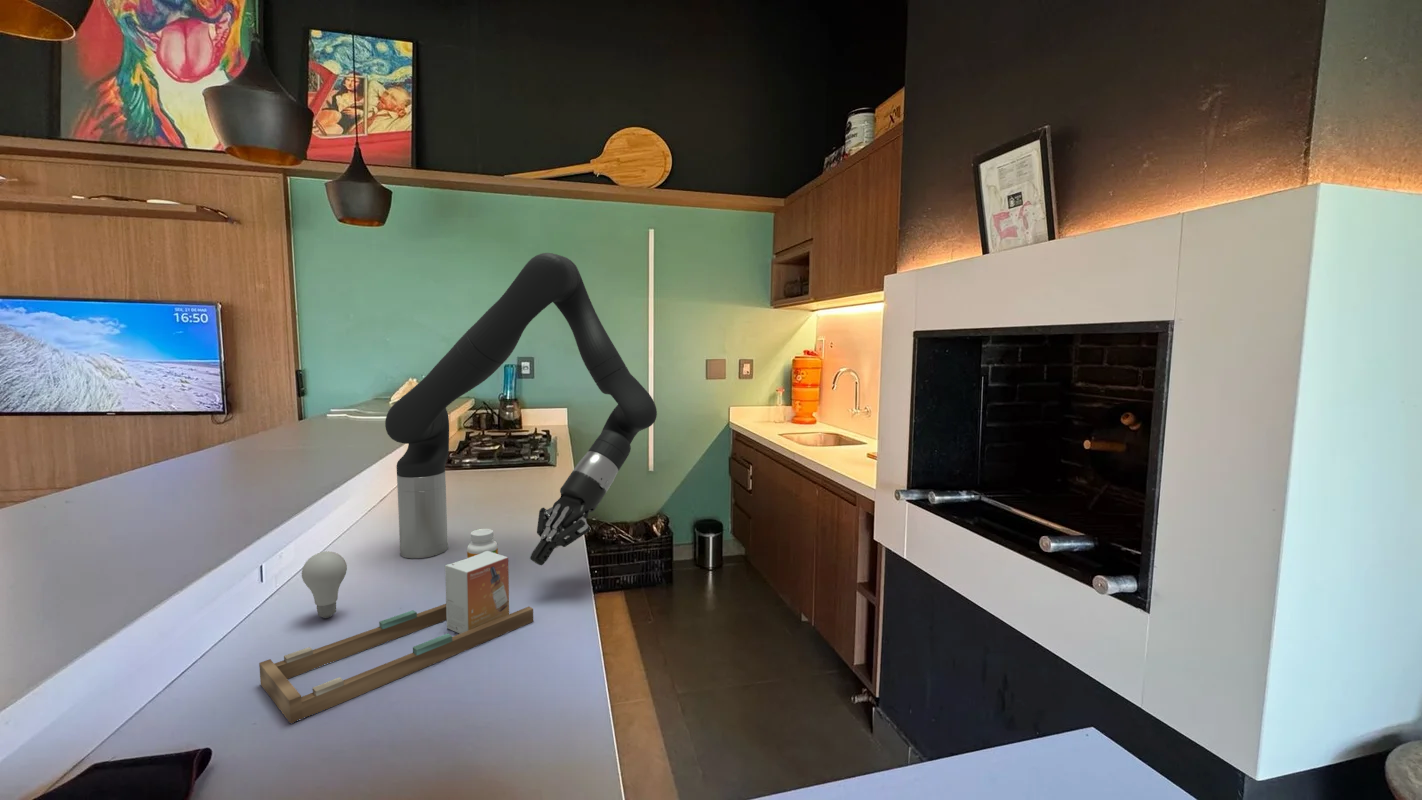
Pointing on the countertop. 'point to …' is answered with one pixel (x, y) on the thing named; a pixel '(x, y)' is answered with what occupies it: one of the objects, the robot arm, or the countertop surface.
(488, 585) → the small box
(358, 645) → the u-shaped wooden frame
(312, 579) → the lightbulb
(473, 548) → the supplement bottle
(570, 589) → the countertop surface
